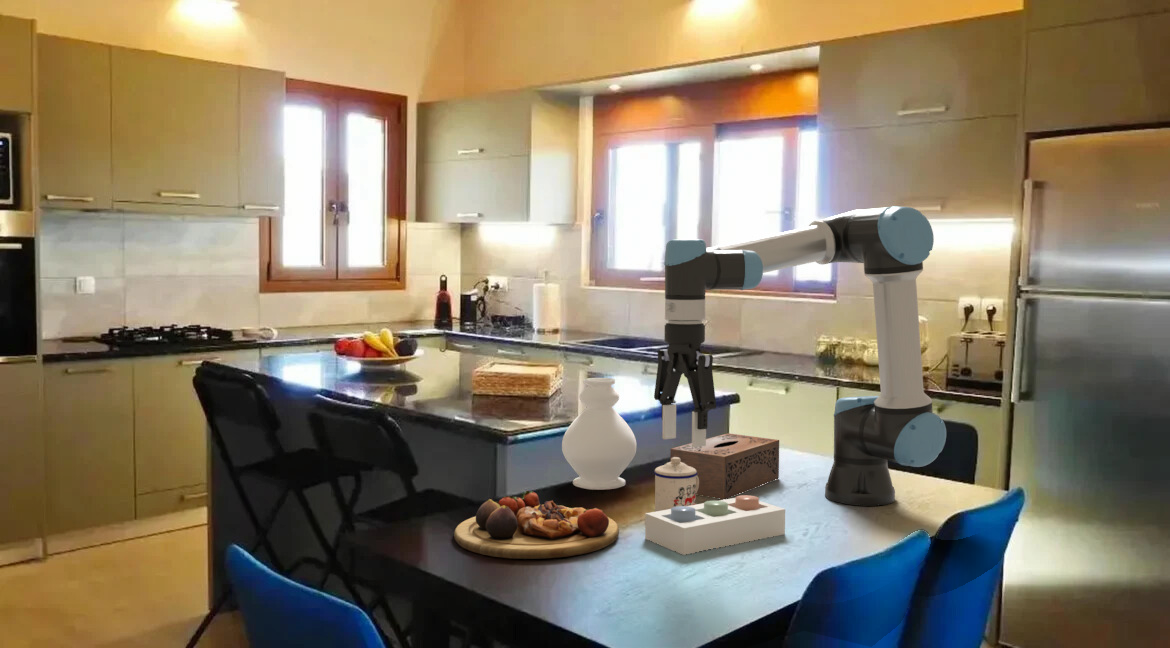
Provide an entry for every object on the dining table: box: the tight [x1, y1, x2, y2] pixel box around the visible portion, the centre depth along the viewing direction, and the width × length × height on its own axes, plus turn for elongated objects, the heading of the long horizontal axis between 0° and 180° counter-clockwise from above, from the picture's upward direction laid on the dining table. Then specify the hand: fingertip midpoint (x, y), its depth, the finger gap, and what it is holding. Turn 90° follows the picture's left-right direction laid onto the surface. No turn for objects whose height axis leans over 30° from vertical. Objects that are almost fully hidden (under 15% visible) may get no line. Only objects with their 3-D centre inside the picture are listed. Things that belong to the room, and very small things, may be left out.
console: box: [644, 497, 786, 556], centre depth 188 cm, size 25×12×5 cm, turn 122°
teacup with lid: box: [653, 457, 699, 512], centre depth 207 cm, size 12×9×12 cm
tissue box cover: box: [669, 432, 780, 500], centre depth 230 cm, size 26×14×10 cm, turn 141°
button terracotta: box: [734, 494, 760, 511], centre depth 192 cm, size 5×5×4 cm
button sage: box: [703, 500, 728, 517], centre depth 187 cm, size 5×5×4 cm
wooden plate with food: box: [453, 490, 620, 560], centre depth 188 cm, size 32×32×8 cm
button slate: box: [671, 506, 696, 523], centre depth 183 cm, size 5×5×4 cm
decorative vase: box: [561, 377, 637, 491], centre depth 231 cm, size 18×18×25 cm
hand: (683, 442), depth 182 cm, fingers open, 8 cm apart
